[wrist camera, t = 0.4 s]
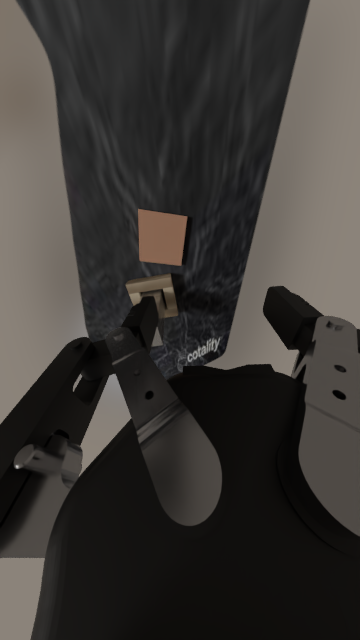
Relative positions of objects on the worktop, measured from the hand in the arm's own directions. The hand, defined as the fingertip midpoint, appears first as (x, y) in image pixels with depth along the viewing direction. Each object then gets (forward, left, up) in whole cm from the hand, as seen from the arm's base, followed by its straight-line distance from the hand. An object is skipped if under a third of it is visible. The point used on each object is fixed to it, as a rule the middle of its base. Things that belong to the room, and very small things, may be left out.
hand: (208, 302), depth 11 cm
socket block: (+10, -5, -21) cm, 24 cm away
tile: (-1, -4, -21) cm, 22 cm away
